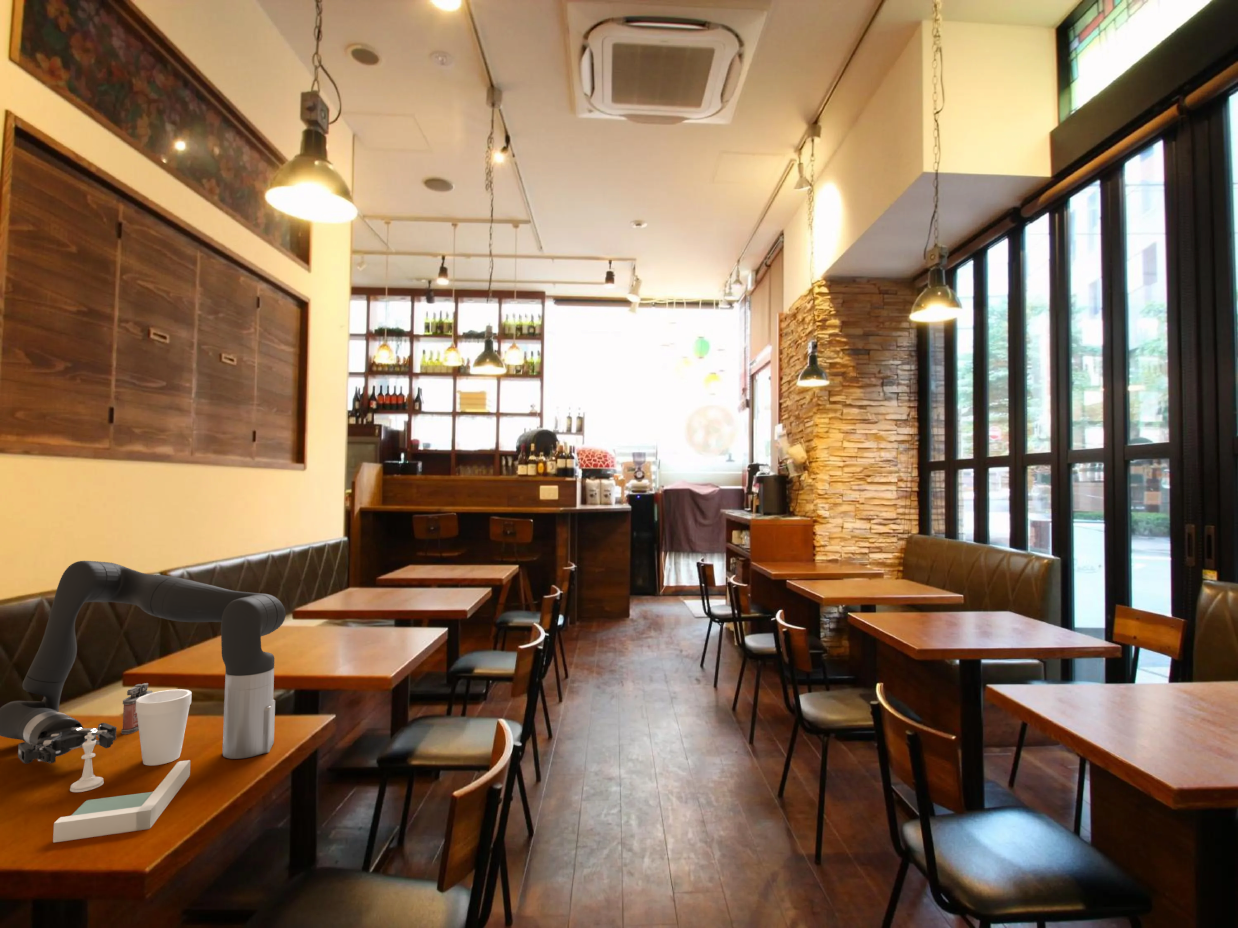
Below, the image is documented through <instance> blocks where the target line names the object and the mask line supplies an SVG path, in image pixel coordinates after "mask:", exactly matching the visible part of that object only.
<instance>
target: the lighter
mask: <svg viewBox="0 0 1238 928" xmlns="http://www.w3.org/2000/svg"><path fill="white" fill-rule="evenodd" d="M148 688H149V683H148V682H146V683H145V682H144V683H142V684H141V683H138V684H135V685H134V686H133V687H131V688H129V689H128V690H127V691H126V692H127V693H126V695H127V696H128V697H126V698H125V699H123V700H122V705H123V711H122V712H123V713H122V728H121V731H120V732H121V734H122V735H129V734H134V733H135V732H139V726H138V718H137V713H136V700H137V699H138V698H139V697H141V696H144V695H146V694H150V693H154V692H153V691H152V690H148Z"/></svg>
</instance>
